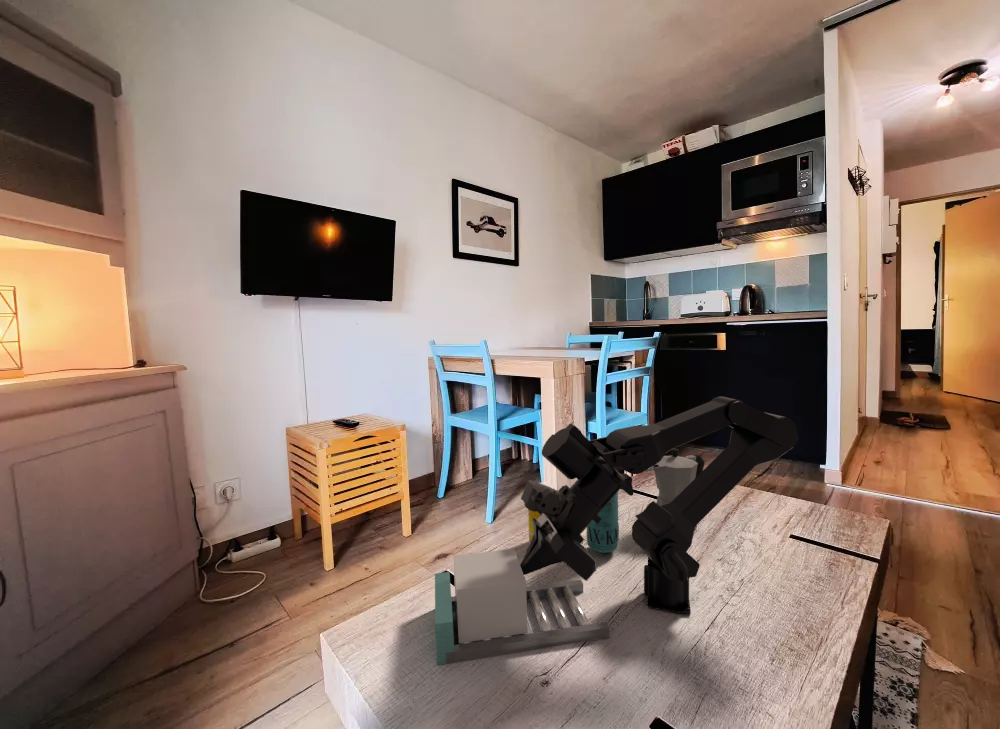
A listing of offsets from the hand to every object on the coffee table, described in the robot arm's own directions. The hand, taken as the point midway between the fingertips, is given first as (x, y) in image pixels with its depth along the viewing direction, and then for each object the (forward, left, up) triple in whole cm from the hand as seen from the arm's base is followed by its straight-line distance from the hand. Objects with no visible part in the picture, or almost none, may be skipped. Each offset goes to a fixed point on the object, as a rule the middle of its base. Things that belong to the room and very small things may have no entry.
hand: (521, 572), depth 64 cm
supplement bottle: (+3, -23, -8) cm, 25 cm away
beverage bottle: (-9, -24, -8) cm, 27 cm away
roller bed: (0, 0, -8) cm, 8 cm away
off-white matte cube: (+5, +3, -6) cm, 8 cm away
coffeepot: (-24, -41, -8) cm, 49 cm away
